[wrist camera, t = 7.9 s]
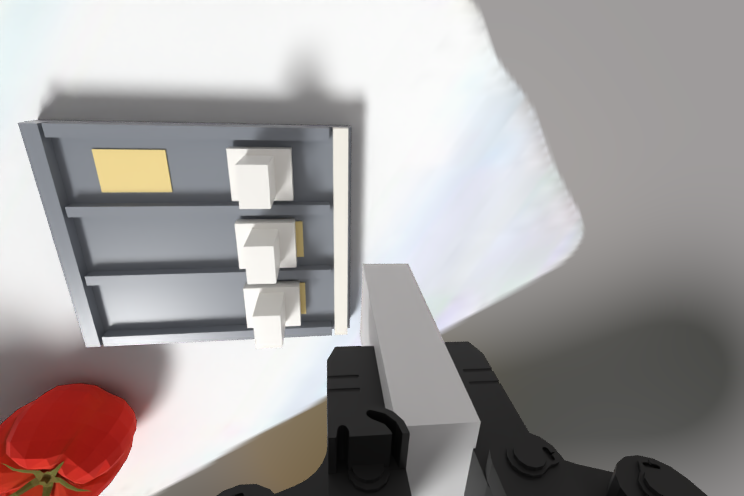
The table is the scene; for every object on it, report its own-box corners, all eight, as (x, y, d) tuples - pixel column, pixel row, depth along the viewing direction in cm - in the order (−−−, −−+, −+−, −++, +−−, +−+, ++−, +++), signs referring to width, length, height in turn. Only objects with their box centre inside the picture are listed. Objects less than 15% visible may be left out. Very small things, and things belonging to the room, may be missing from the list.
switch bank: (97, 331, 31) (82, 347, 29) (36, 120, 25) (13, 122, 23) (348, 319, 34) (350, 334, 32) (349, 125, 27) (352, 128, 26)
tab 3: (249, 320, 31) (239, 354, 27) (245, 282, 29) (234, 312, 26) (301, 318, 31) (298, 351, 27) (299, 280, 30) (296, 309, 26)
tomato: (67, 457, 36) (7, 547, 29) (11, 384, 32) (-74, 466, 25) (169, 431, 36) (133, 514, 29) (124, 356, 32) (71, 429, 25)
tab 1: (234, 196, 27) (220, 215, 23) (229, 146, 26) (213, 157, 22) (293, 196, 27) (289, 214, 24) (291, 147, 26) (286, 157, 22)
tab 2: (242, 263, 29) (230, 290, 25) (237, 219, 27) (224, 241, 24) (297, 261, 29) (293, 288, 25) (295, 218, 28) (291, 239, 24)
